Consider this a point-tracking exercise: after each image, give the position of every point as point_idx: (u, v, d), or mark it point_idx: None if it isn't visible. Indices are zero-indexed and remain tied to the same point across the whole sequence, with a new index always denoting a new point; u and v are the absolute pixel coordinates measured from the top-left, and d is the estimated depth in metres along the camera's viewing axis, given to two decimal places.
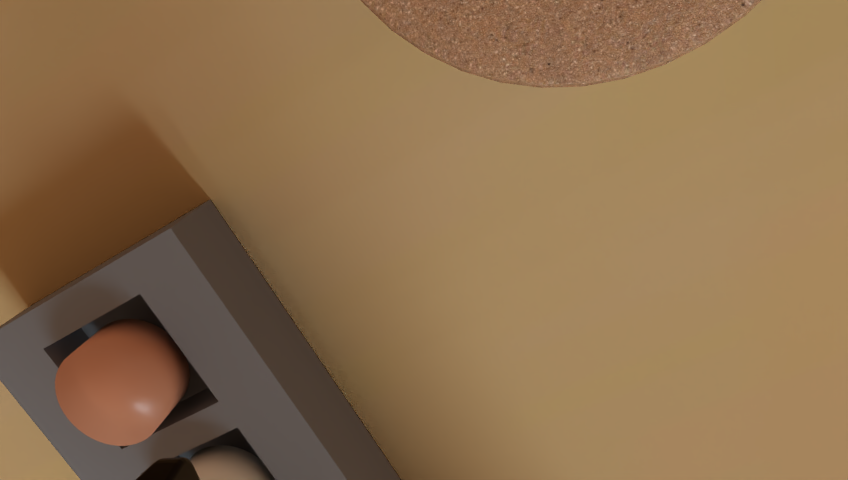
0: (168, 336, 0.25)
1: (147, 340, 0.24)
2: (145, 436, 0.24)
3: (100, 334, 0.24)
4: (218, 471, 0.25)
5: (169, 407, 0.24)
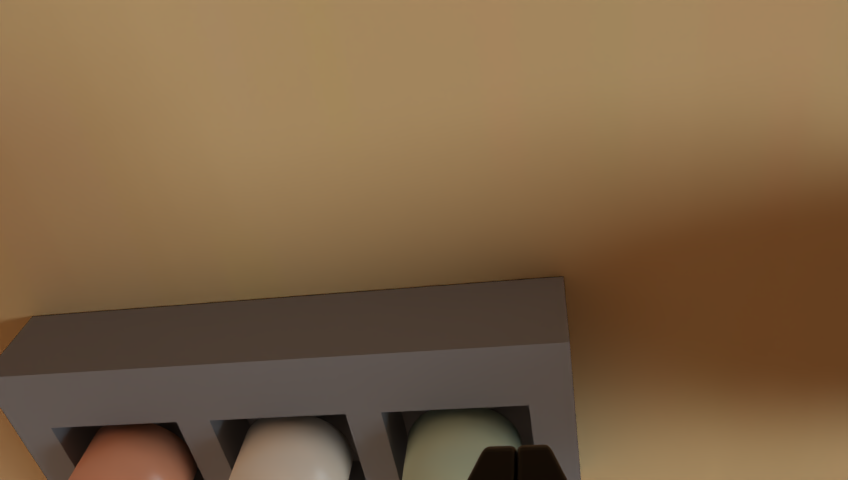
0: None
1: (93, 445, 0.24)
2: None
3: None
4: (237, 461, 0.23)
5: (153, 465, 0.24)
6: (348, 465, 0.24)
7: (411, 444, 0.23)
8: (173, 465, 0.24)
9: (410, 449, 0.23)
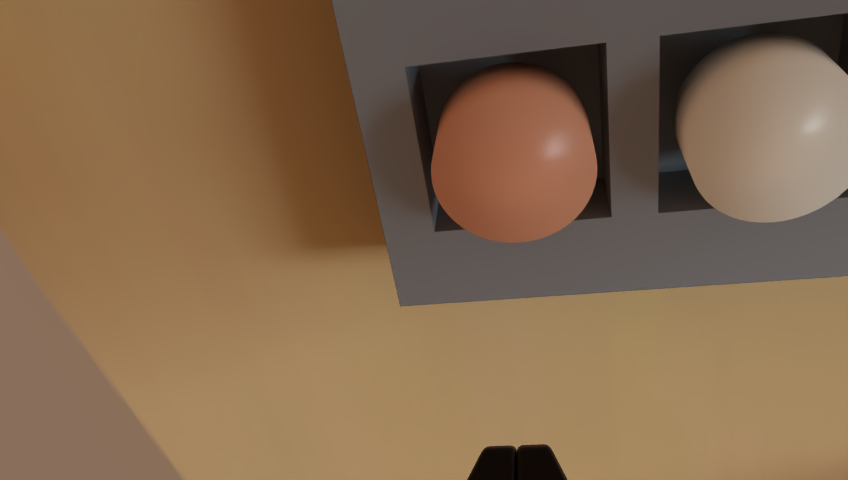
0: (485, 69, 0.17)
1: (469, 90, 0.17)
2: (592, 156, 0.16)
3: None
4: (706, 92, 0.16)
5: (571, 107, 0.16)
6: None
7: None
8: (585, 119, 0.17)
9: None
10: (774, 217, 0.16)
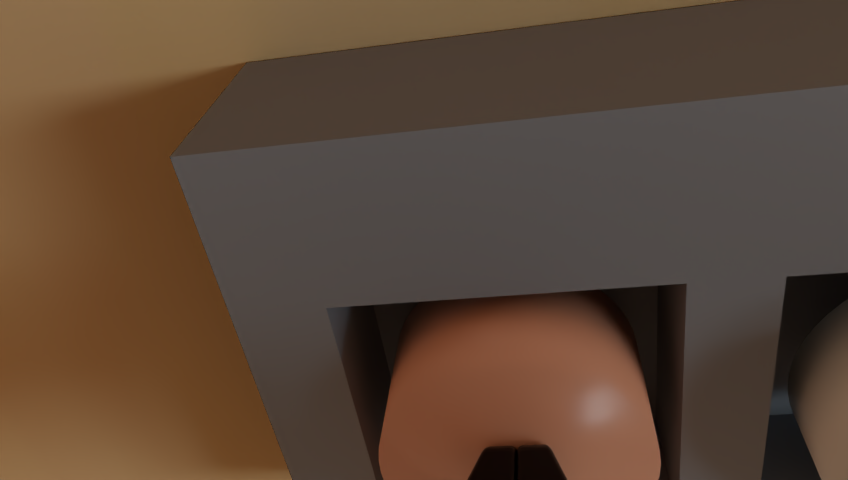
0: None
1: (443, 320, 0.10)
2: (652, 451, 0.09)
3: None
4: None
5: (617, 364, 0.09)
6: None
7: None
8: (637, 369, 0.10)
9: None
10: None
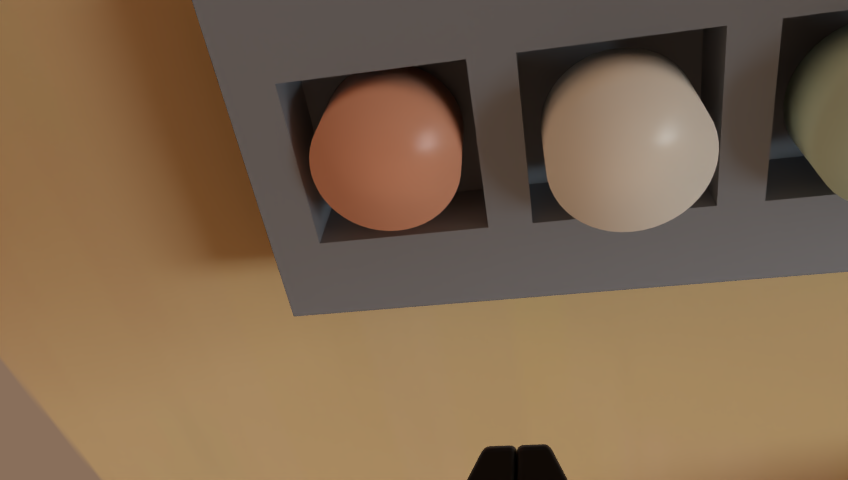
0: None
1: (344, 89, 0.18)
2: (454, 149, 0.17)
3: None
4: (560, 107, 0.16)
5: (436, 103, 0.17)
6: None
7: (821, 69, 0.16)
8: (452, 115, 0.18)
9: (823, 73, 0.16)
10: (633, 227, 0.17)
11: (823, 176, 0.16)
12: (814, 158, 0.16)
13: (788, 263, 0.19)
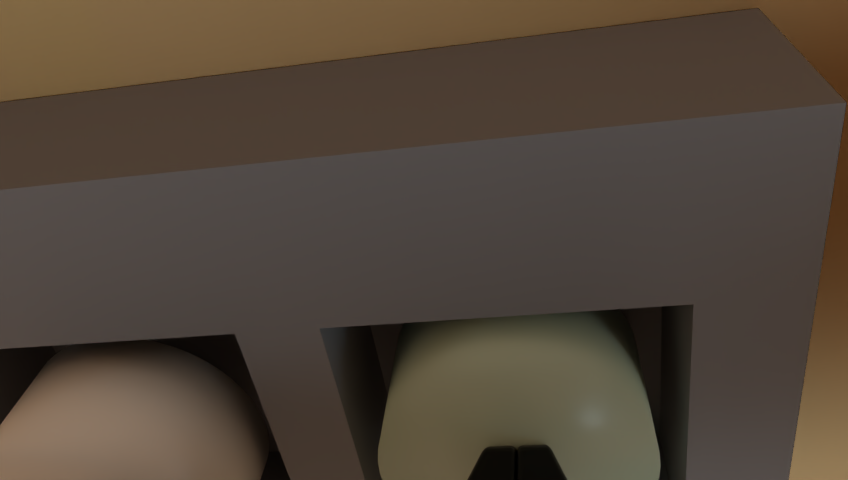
0: None
1: None
2: None
3: None
4: None
5: None
6: (253, 458, 0.11)
7: (403, 354, 0.10)
8: None
9: (400, 364, 0.10)
10: None
11: None
12: None
13: None
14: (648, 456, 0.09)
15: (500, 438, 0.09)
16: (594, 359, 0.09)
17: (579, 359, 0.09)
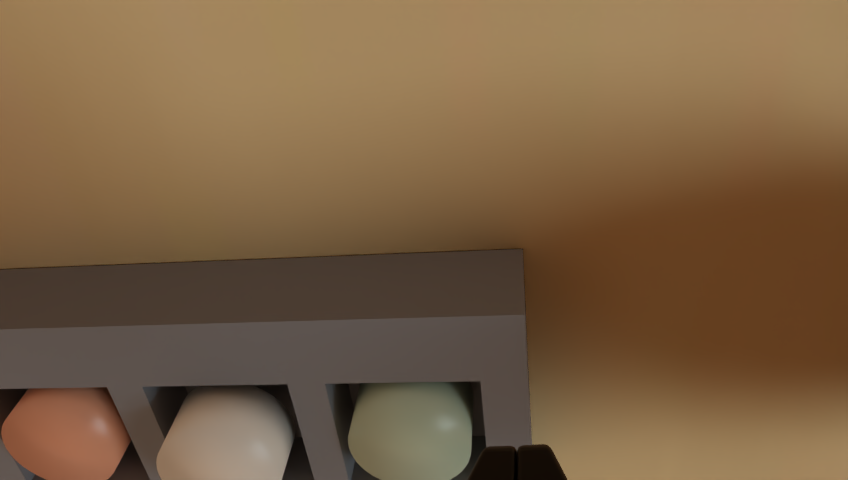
0: None
1: None
2: (107, 443, 0.23)
3: None
4: (169, 431, 0.22)
5: (95, 407, 0.23)
6: (289, 439, 0.23)
7: (361, 392, 0.22)
8: None
9: (360, 397, 0.22)
10: None
11: (361, 466, 0.23)
12: (353, 455, 0.22)
13: None
14: (465, 442, 0.22)
15: (402, 433, 0.22)
16: (442, 400, 0.21)
17: (435, 399, 0.21)
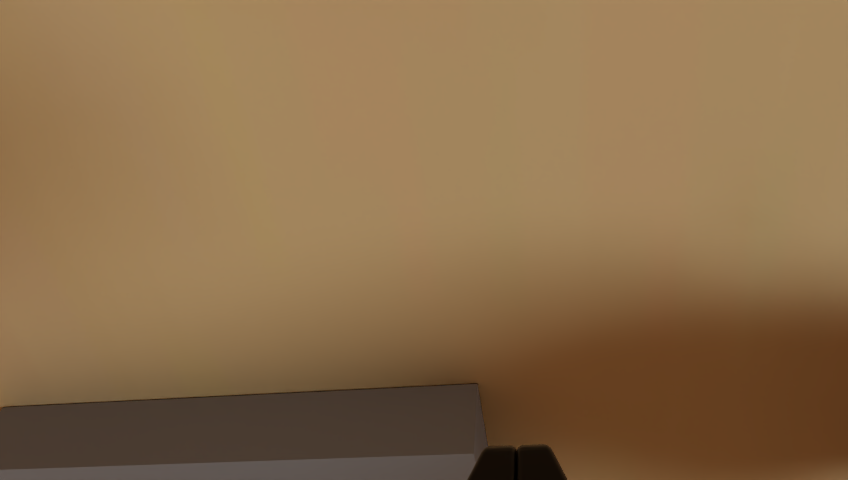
0: None
1: None
2: None
3: None
4: None
5: None
6: None
7: None
8: None
9: None
10: None
11: None
12: None
13: None
14: None
15: None
16: None
17: None
